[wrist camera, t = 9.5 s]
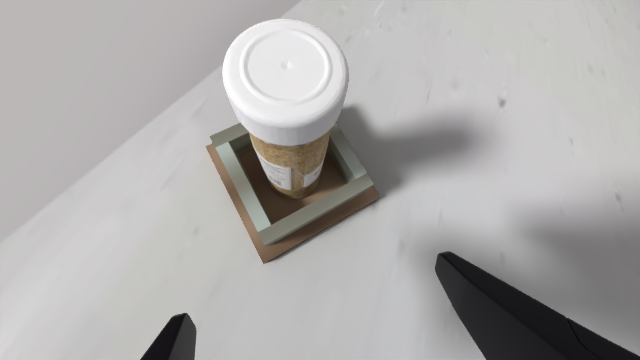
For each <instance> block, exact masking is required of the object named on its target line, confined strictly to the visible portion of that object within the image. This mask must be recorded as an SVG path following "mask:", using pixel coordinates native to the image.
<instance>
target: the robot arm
mask: <svg viewBox="0 0 640 360" xmlns="http://www.w3.org/2000/svg"><path fill="white" fill-rule="evenodd" d="M435 272H436V274H437V276H438V278H439V280H440V282H441V284H442V286H443V288H444V290H445V292H446V294H447V296H448V298H449V300H450V302H451V304H452V306H453V307H454V309H455V311H456V313H457V315H458V316H459V318H460V319H461V321H462V323H463V324H464V326H465V327H466V329H467V330H468V332H469V334H470V335H471V337H472V338H473V340H474V341H475V343H476V344H477V346H478V348H479V349H480V351H481V352H482V354H483V355H484V357H485V358H486V360H640V356H638V355H636V354H634V353H632V352H630V351H628V350H626V349H625V348H623V347H621V346H619V345H617V344H615V343H613V342H611V341H609V340H607V339H605V338H603V337H601V336H600V335H598V334H596V333H594V332H592V331H590V330H589V329H587V328H585V327H583V326H581V325H580V324H578V323H576V322H574V321H573V320H571V319H569V318H566V317H565V316H564V315H562V314H560V313H558V312H556V311H555V310H553V309H551V308H549V307H548V306H546V305H544V304H542V303H541V302H539V301H537V300H535V299H533V298H532V297H530V296H528V295H526V294H525V293H523V292H521V291H519V290H517V289H516V288H514V287H512V286H510V285H509V284H507V283H505V282H503V281H502V280H500V279H498V278H496V277H494V276H493V275H491V274H489V273H487V272H486V271H484V270H482V269H480V268H479V267H477V266H475V265H473V264H471V263H470V262H468V261H466V260H464V259H463V258H461V257H459V256H457V255H456V254H454V253H452V252H449V251H447V252H443V253H439V254H438V256H437V261H436V265H435ZM195 344H196V327H195V325H194V323H193V321H192V320H191V318H190V316H189V315H188V314H187V313H182V314H178V315H175V316H173V317H172V318H171V319H170V320H169V322H168V323H167V324H166V326H165V327H164V328H163V330H162V331H161V332H160V334H159V335H158V336H157V338H156V339H155V340H154V342H153V343H152V344H151V346H150V347H149V349H148V350H147V351H146V353H145V354H144V355H143V357H142V358H141V359H140V360H194V357H195Z"/></svg>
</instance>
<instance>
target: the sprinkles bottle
mask: <svg viewBox="0 0 640 360" xmlns="http://www.w3.org/2000/svg"><path fill="white" fill-rule="evenodd" d="M222 75H223V82H224V86H225V89H226V92H227V95H228V97H229V100H230V103H231V105H232V107H233V109H234V111H235V113H236V116H237V118H238V119H239V121H240V122H241V124H242V125H243V126H244V127H245V128H246V129H247V130H248V132H249V134H250V138H251V141H252V144H253V147H254V149H255V151H256V153H257V156H258V158H259V160H260V162H261V165H262V167H263V169H264V171H265V173H266V175H267V179H268V181H269V184H270V185H271V187H272V189H273V190H274V191H275V192H276V193H278V194H279V195H281V196H283V197H286V198H289V199H290V198H293V199H299V198H302V197H304V196H307V195H308V194H309V193H311V192H312V191H313V190H314V189H315V188H316V186H317V184H318V182H319V179H320V172H321V169H322V165H323V161H324V157H325V153H326V150H327V146H328V141H329V135H330V131H331V128H332V126H333V125H334V124H335V122H336V121H337V119H338V117H339V115H340V112H341V110H342V106H343V103H344V100H345V96H346V92H347V88H348V81H349V71H348V65H347V61H346V58H345V56H344V54H343V52H342V50H341V48H340V47H339V45H338V44H337V43H336V42H335V41H334V39H333V38H332V37H331V36H330V35H328V34H327V33H326V32H324V31H323V30H321V29H320V28H318V27H316V26H314V25H312V24H309V23H306V22H303V21H299V20H294V19H274V20H269V21H264V22H261V23H259V24H256V25H254V26H252V27H250V28H248V29H247V30H245V31H244V32H242V33H241V34H240V35H239V36H238V37H237V38H236V39H235V40H234V41H233V43H232V44H231V46H230V47H229V49H228V51H227V53H226V56H225V59H224V63H223V72H222Z"/></svg>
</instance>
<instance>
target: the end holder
mask: <svg viewBox="0 0 640 360" xmlns="http://www.w3.org/2000/svg"><path fill="white" fill-rule="evenodd" d="M210 138H211V140H212V142H213V143H212V144H210V145H208V146H206V148H207V150H208V152H209V154H210V157H211V159H212V161H213V163H214V165H215V167H216V169H217V171H218V173H219V175H220V177H221V179H222V181H223V183H224V185H225V187H226V189H227V191H228V193H229V195H230V197H231V199H232V201H233V203H234V205H235V207H236V209H237V211H238V213H239V215H240V217H241V219H242V221H243V223H244V225H245V227H246V229H247V231H248V234H249V236H250V238H251V240H252V242H253V244H254V246H255V248H256V250H257V252H258V254H259V256H260V258H261V260H262V262H263V264H264V263H266V262H268V261H270V260H271V259H273V258H275V257H277V256H278V255H280V254H282V253H284V252H285V251H287V250H289V249H290V248H292V247H294V246H296V245H297V244H299V243H301V242H303V241H304V240H306V239H308V238H310V237H311V236H313V235H315V234H317V233H318V232H320V231H322V230H324V229H325V228H327V227H329V226H331V225H332V224H334V223H336V222H338V221H339V220H341V219H343V218H345V217H346V216H348V215H350V214H351V213H353V212H355V211H357V210H358V209H360V208H362V207H364V206H365V205H367V204H369V203H371V202H372V201H374V200H376V199H378V198H379V195H378V193H377V192H376V190H375V188H374V187H373V185H374V183H373V181H372V180H371V178H370V177H369V175H368V173H367V172H366V170H365V169H364V167H363V165H362V164H361V162H360V161H359V159H358V157H357V156H356V154H355V152H354V151H353V149H352V148H351V146H350V144H349V143H348V141H347V140H346V138H345V136H344V135H343V133H342V132H341V130H340V128H339V127H338V125H337V123H336V122H335V124H334V125H333V126H332V128H331V131H330V135H329V141H328V146H327V150H326V153H325V157H324V161H323V165H322V169H321V172H320V179H319V182H318V184H317V186H316V188H315V189H314V190H313V191H312V192H311V193H309V194H308V195H307V196H304V197H302V198H299V199H293V198H290V199H289V198H286V197H283V196H281V195H279V194H278V193H276V192H275V191H274V190H273V189H272V187H271V185H270V184H269V181H268V179H267V175H266V173H265V171H264V169H263V167H262V165H261V162H260V160H259V158H258V156H257V153H256V151H255V149H254V147H253V144H252V141H251V138H250V134H249V132H248V130H247V129H246V128H245V127H244V126H243V125H242V124H241V123H239V124H237V125H234V126H232V127H230V128H228V129H225V130H223V131H221V132H219V133H216V134H214V135H212V136H210Z"/></svg>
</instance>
